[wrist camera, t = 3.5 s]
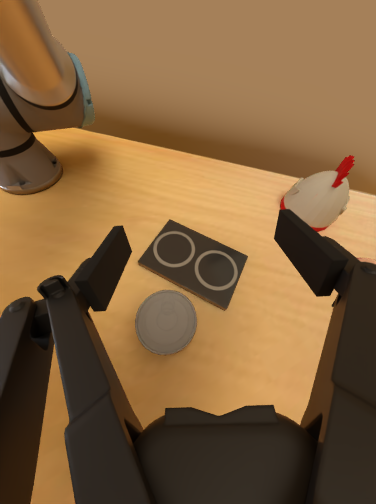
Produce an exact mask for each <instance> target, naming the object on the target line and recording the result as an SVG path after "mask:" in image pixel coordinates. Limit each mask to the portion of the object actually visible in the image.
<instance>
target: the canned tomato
mask: <svg viewBox="0 0 376 504" xmlns="http://www.w3.org/2000/svg"><path fill="white" fill-rule="evenodd" d="M196 326H197V317H196V312H195V309H194V306H193V305H192V303H191V302H190V300H189V299H188V298H187V297H186V296H184V295H183V294H181V293H179V292H177V291H173V290H162V291H158V292H156V293H154V294H152V295H150V296H149V297H147V298H146V299H145V300H144V302H143V303H142V304H141V306H140V307H139V309H138V312H137V315H136V320H135V328H136V333H137V336H138V338H139V340H140V342H141V343H142V345H143V346H144V347H145V348H146V349H148V350H149V351H151V352H153V353H156V354H159V355H170V354H174V353H177V352H179V351H180V350H182V349H184V348H185V347H186V346H187V345H188V344H189V342H190V341H191V340H192V338H193V336H194V334H195V330H196Z"/></svg>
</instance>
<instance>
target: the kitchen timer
mask: <svg viewBox="0 0 376 504" xmlns="http://www.w3.org/2000/svg"><path fill="white" fill-rule="evenodd" d="M353 158H354V156H351V155H350V156H349V157H348V158H347V157H345V159H344V160H343V161H342V163H341V164H340V165H339V167H338V168H337V169H336V171H324V172H320V173H316V174H314V175H311V176H309V177H308V178H306V179H303V178H301V179H300V180H299V181H298V182H297V183H296V184H294V185H293V186H292V187H291V189H290V190H289V191H288V192H287V193H286V195H285V196H284V198H283V199H282V200H281V205H280V207H281V210H282V209H290V210H291V211H293V212H294V213H295V214H296V215H297V216H299V217H300V218H301V219H302V220H303V221H304V222H306V223H307V224H308V225H309V226H310V227H312V228H313V229H314V230H315V231H322V230H325V229H326V228H327V227H328V226H330V225H331V224H332V223H333V222H334V221H335V220H336V219H337V218H338V216H339V215H341V214H342V213H343V212H344V211H345V210H346V205H347V203H348V201H349V196H348V195H349V184H348V180H347V178H346V176H347V175H348V174H349V173H347V172H348V171H349V170H350V169H351V168H352V166H353V165H354V164H352V163H353V162H354V160H352V159H353Z"/></svg>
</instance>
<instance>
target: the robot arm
mask: <svg viewBox="0 0 376 504" xmlns="http://www.w3.org/2000/svg"><path fill="white" fill-rule="evenodd" d="M94 120H95V114H94V108H93V103H92V101H91V95H90V91H89V87H88V83H87V80H86V77H85V74H84V71H83V68H82V65H81V63H80V61H79V59H78V58H77V56H76V55H75V54H72V53H69V52H67V51H66V50H65V49H64V47H63V46H62V45H61V44H60V43H59V42H58V41H57V40H56V39H55V38H54V37H53V36H52V34H51V32H50V29H49V27H48V24H47V22H46V20H45V17H44V15H43V12H42V10H41V7H40V5H39V3H38V0H0V188H2V189H3V190H4V191H6V192H9V193H12V194H32V193H36V192H39V191H42V190H45V189H47V188H49V187H50V186H52V185H53V184H55V183H56V182H57V181H58V180H59V179H60V177H61V175H62V172H63V169H62V166H61V164H60V162H59V161H58V159H57V158H56V157H55V156H54V155H53V154H52V153H51V152H50V151H49V150H48V149H47V148H46V147H45V146H44V145H43V144H41V143H40V142H39V141H38V140H37V139H36V137H35V136H34V134H33V133H32V132H40V131H48V130H56V129H65V128H73V127H78V128H82V127H83V126H87V125H91V124H92V123H93V122H94ZM274 239H275V241H276V242H277V243H278V245H279V246H280V248H281V249H282V250H283V252H284V253H285V254H286V256H287V257H288V258H289V260H290V261H291V262H292V264H293V265H294V266H295V268H296V269H297V271H298V272H299V273H300V275H301V276H302V277H303V279H304V280H305V281H306V283H307V284H308V285H309V287H310V288H311V290H312V291H313V292H314V294H315V295H316V296H317V297H319V296H330V295H331V293H332V291H333V289H335V290H336V291H337V292H338V295H337V297H336V299H335V301H334V303H333V304H332V307H334V308H333V312H332V316H331V319H330V323H329V327H328V331H327V335H326V338H325V342H324V346H323V350H322V354H321V358H320V361H319V365H318V369H317V373H316V377H315V380H314V384H313V388H312V392H311V396H310V400H309V403H308V406H307V409H306V411H305V413H304V415H303V418H302V421H301V424H300V425H299V424H297V423H296V422H294V421H293V420H291V419H289V418H288V417H286V416H284V415H281V414H279V413H276V412H275V409H274V405H256V406H244V407H242V408H239V409H237V410H234V411H232V412H229V413H227V414H224V415H221V416H217V415H214V414H210V413H207V412H204V411H201V410H198V409H195V408H192V407H186V408H165V415H164V416H162V417H160V418H158V419H156V420H155V421H153V422H152V423H151V424H149V425H148V426H147V427H146V428H145V429H144V430H143V428H142V426H141V424H140V422H139V420H138V419H137V417H136V415H135V414H134V412H133V410H132V408H131V406H130V403H129V401H128V399H127V397H126V394H125V392H124V390H123V388H122V385H121V383H120V381H119V379H118V376H117V374H116V372H115V370H114V368H113V365H112V363H111V361H110V359H109V356H108V354H107V352H106V350H105V347H104V345H103V343H102V341H101V338H100V336H99V334H98V332H97V329H96V327H95V325H94V323H93V320H92V318H91V316H90V314H89V312H88V309H89V308H90V306H91V308H92V309H93V311H94V312H96V311H106V309H107V307H108V304H109V302H110V300H111V298H112V295H113V293H114V291H115V289H116V286H117V284H118V282H119V280H120V277H121V275H122V273H123V271H124V268H125V266H126V264H127V262H128V259H129V257H130V255H131V253H132V250H131V247H130V245H129V242H128V239H127V236H126V233H125V231H124V228H123V226H114V227H113V229H112V230H111V231H110V233H109V234H108V235H107V237H106V238H105V240H104V241H103V242H102V244H101V245H100V246H99V248H98V249H97V251H96V252H95V253H94V255H93V256H92V257H91V258H88V259H86V260H85V261H84V262H83V263H82V264H81V265H80V266H79V268H78V269H77V270H76V273H74V274H73V276H72V277H71V278H70V279H69V281H68V282H67V281H66V280H65V278H64V277H63V276H61V275H57V276H53V277H50V278H48V279H46V280H44V281H43V282H42V283H40V285H39V286H38V288H37V291H38V292H39V293H40V294H41V295H42V296H43V297H44V299H42V300H39V301H35V302H34V301H33V300H32V299H31V298H30V297H23V298H20V299H18V300H15V301H14V302H12V303H11V304H10V305H8V306H7V307H6V308H5V310H4V311H3V313H2V316H1V318H0V504H30V502H31V496H32V491H33V486H34V479H35V472H36V465H37V458H38V451H39V444H40V437H41V430H42V423H43V417H44V410H45V403H46V396H47V389H48V382H49V375H50V368H51V361H52V354H53V347H54V344H55V349H56V354H57V359H58V364H59V369H60V374H61V379H62V384H63V389H64V394H65V399H66V404H67V409H68V414H69V424H68V426H67V427H66V428H65V433H64V435H65V444H66V450H67V456H68V462H69V468H70V474H71V480H72V486H73V492H74V498H75V504H376V264H373V263H370V262H361V261H360V260H358V259H357V258H356V257H355V256H353V255H352V254H351V253H350V252H348V251H347V250H346V249H345V248H343V247H342V246H340V244H338V243H337V242H336V241H335V240H333V239H331V238H329V237H326V236H324V237H322V236H321V235H320V234H319V233H317V232H316V231H315V230H314V229H313V228H312V227H310V226H309V225H308V224H307V223H306V222H304V221H303V220H302V219H301V218H300V217H299V216H297V215H296V214H295V213H294V212H293V211H291V210H290V209H282V210H280V211H279V216H278V221H277V226H276V231H275V236H274Z"/></svg>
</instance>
